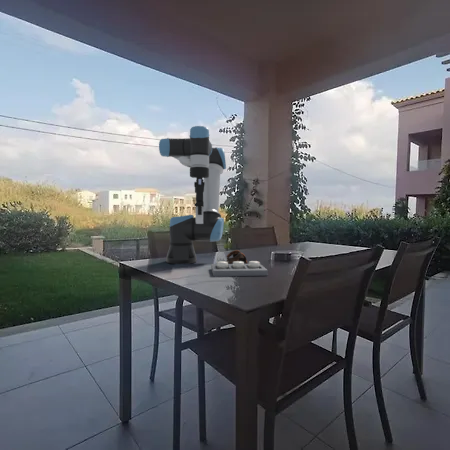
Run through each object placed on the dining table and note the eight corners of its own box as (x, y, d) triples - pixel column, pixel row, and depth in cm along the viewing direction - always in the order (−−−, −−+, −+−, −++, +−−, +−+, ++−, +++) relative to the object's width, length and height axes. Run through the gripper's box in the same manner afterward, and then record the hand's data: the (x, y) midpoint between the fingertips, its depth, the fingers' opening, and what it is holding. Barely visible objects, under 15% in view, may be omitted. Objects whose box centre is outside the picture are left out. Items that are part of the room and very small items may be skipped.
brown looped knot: (251, 268, 141) (243, 253, 138) (232, 276, 141) (225, 262, 138) (246, 257, 152) (239, 243, 149) (229, 265, 152) (222, 252, 150)
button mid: (232, 266, 125) (232, 261, 125) (242, 266, 125) (242, 261, 125) (233, 268, 121) (233, 263, 120) (244, 268, 121) (244, 263, 121)
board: (211, 271, 129) (211, 264, 129) (259, 271, 131) (259, 263, 131) (213, 279, 115) (213, 270, 115) (267, 278, 117) (267, 270, 117)
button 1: (216, 267, 124) (216, 261, 124) (227, 266, 125) (227, 261, 125) (217, 269, 120) (217, 263, 120) (228, 269, 120) (228, 263, 120)
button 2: (247, 266, 126) (247, 261, 125) (258, 266, 126) (258, 261, 126) (249, 268, 121) (249, 263, 121) (260, 268, 122) (260, 262, 122)
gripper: (189, 170, 130) (189, 221, 132) (189, 162, 107) (189, 224, 108) (207, 171, 131) (207, 221, 132) (210, 163, 108) (210, 224, 109)
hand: (199, 223), depth 120 cm, fingers open, 11 cm apart
